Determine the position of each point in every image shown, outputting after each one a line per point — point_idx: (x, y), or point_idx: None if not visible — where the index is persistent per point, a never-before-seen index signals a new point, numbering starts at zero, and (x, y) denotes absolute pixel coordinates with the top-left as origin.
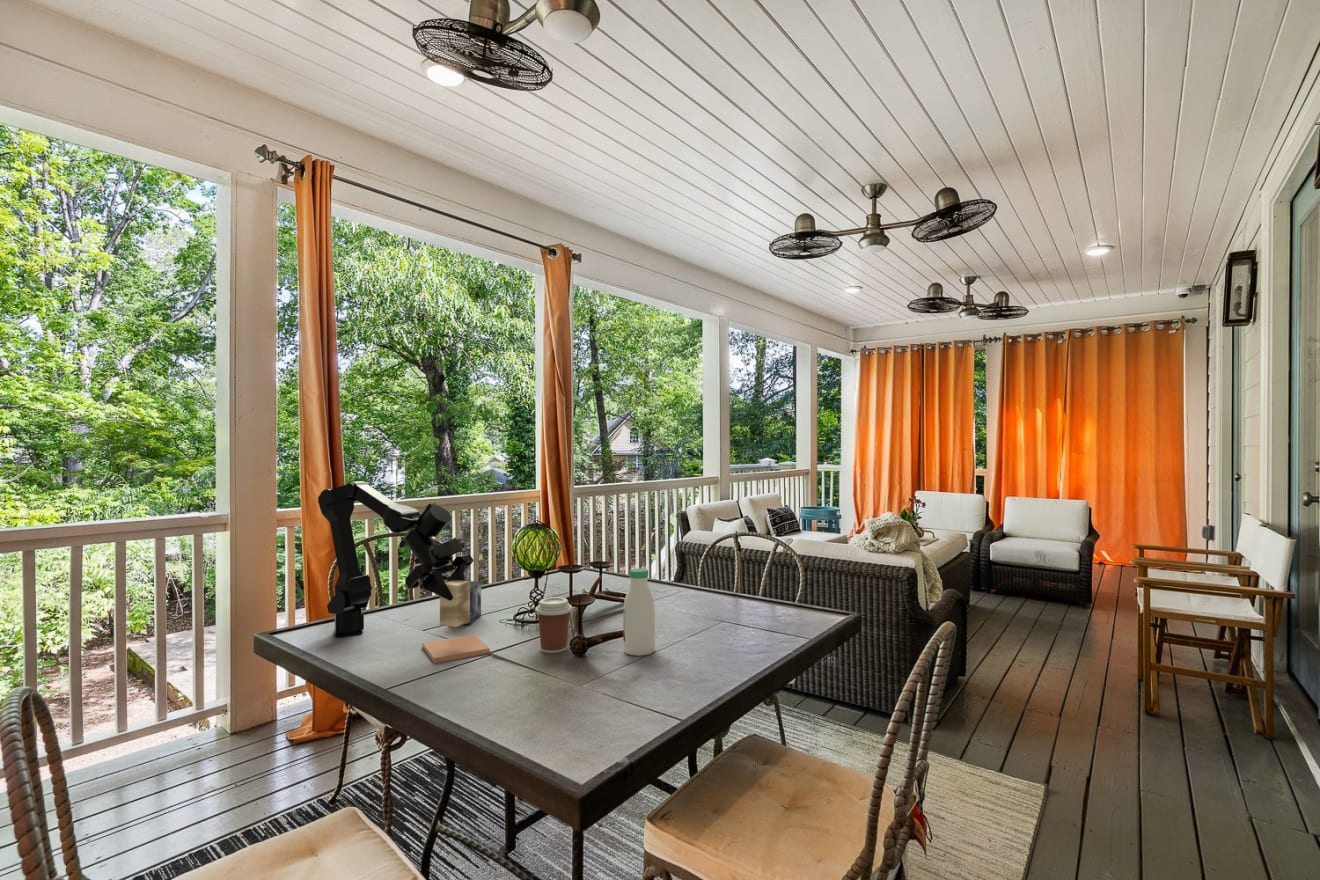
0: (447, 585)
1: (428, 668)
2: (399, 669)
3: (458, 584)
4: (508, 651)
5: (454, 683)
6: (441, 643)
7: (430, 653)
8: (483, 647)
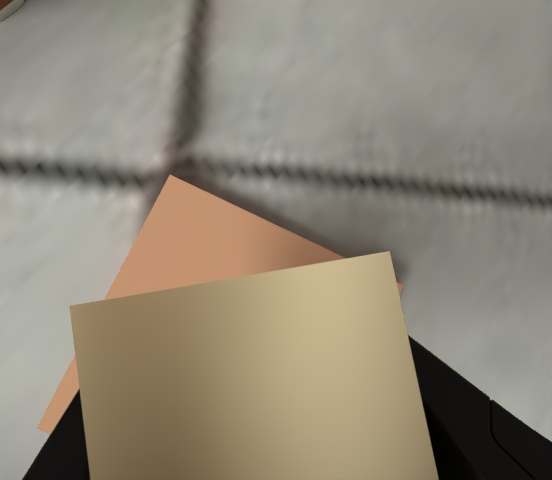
0: (419, 417)
1: (440, 255)
2: (515, 348)
3: (317, 290)
4: (106, 125)
5: (469, 50)
6: None
7: None
8: (177, 207)
